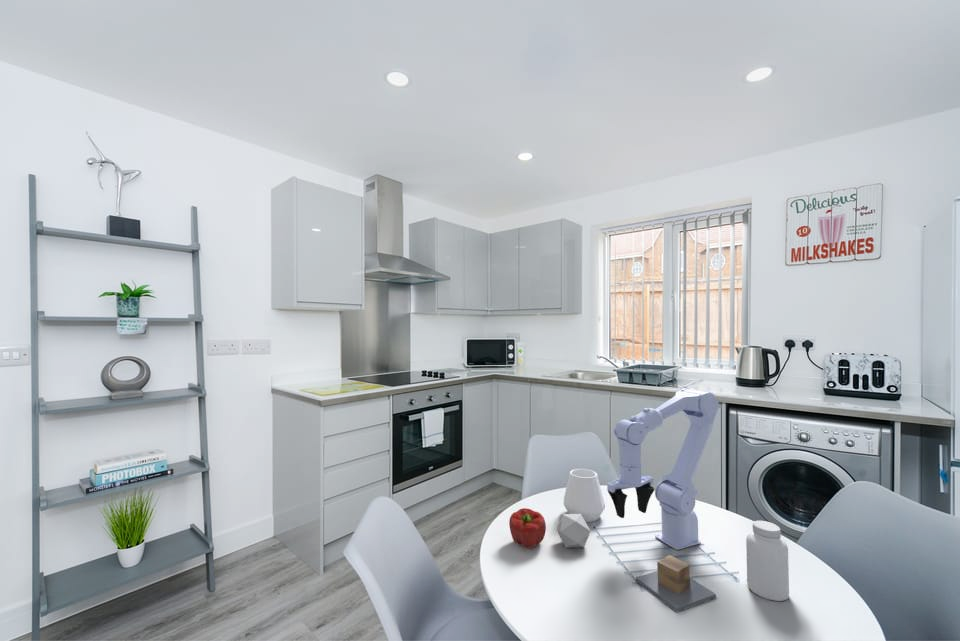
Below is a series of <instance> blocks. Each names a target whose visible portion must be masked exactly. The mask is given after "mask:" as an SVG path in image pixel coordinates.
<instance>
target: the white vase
mask: <svg viewBox="0 0 960 641" xmlns="http://www.w3.org/2000/svg"><path fill="white" fill-rule="evenodd" d="M563 506H564V508H565V509H566V511H567V512H568V513H567V514H581V515H582V517H583V519H584V520H585V522H586V523H593V522H595V521H596V522H597V520H599V518H600V517H601V515H602V514H603V513H604V510H605V509H606V502H605V499H604V496H603V492H602V489H601V484H600V481H599V476H598V472H596V471H593V470H592V469H587V468H574V469H572V470H570V471H569V474H568V479H567V484H566V487H565V493H564V495H563Z"/></svg>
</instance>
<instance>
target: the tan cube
mask: <svg viewBox="0 0 960 641" xmlns="http://www.w3.org/2000/svg"><path fill="white" fill-rule="evenodd" d="M690 567H691V566H690V564H689V563H686V562H684V561H682V560H681V559H678V558H676V557H675V556H672V555H670V554H669V555H666V556H665V557H663V558H662V559H660V560H658V561H657V571H658V584H660V585H662V586H664V587H666V588H667V589H669V590H671V591H673V592H675V593H676V594H680V593H681V592H683V591H684V590H686V589H687V588H689V587H690V577H691V570H690Z"/></svg>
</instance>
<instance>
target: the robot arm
mask: <svg viewBox="0 0 960 641" xmlns="http://www.w3.org/2000/svg"><path fill="white" fill-rule="evenodd" d="M719 408H720V404H719V401H718V399H717V396H716V395H715V394H714V393H713V392H709V391H701V390H694V389H689V388H682V389H680V390H679V391H676V392H675V394H674V395H673V397H671V398H669V399H668V400H666V401H665V402H664V403H662V404H661V405H659V406H658V407H656V408H653V407H645V408H643V409H642V411H641V412H639V413H638V414H636V415H631V416H629V417H630V418H629V419H621V420H620V421H618V422H617V423H616V425H615V427H614V428H615V429H613V433H614V435H615V437H616V439H617V444H618V455H619V456H618V460H619V464H618V465H619V476H618V478H617V479H615V480H613V481H611V482H606V485H607V486H606V487H607V489H606V490H607V492H608V494H609V496H610V498H611V500H612V502H613V505H614V508H615V512H616V516H617V517H619V518H620V519H625V514H626V513H625V511H626V510H625V508H626V507H625V506H626V500H627V498H628V495H627V494H626V493H624V492H623V491H622V490H627V489H632V488H635V492H636V497H637V498H636V500H637V509H638V511H639V512H641V513H643V514H646V513H647V510H648V509H647V508H648V504H649V501H650V499H651V496H653V493H654V496H655V499H656V500H657V501H658V503H659V506H660V507H661V508H660V510H661V514H660V515H661V533H659V534H655V535H654V538H656V539H658V540H659V541H661V542H663V543H664V544H666V545H667V546H669V547H672V548H673V549H675V550H679V551H680V550H682V549H686V548H688V547H689V548H690V547H693V546H695V545H699V544H701V543H702V541H701V540H699V520H698V515H697V514H696V512H695V511H694V509H695V507H696V498H697V494H698V490H697V489H696V487H695V485H694V483H693V478H694V477H695V474H696V471H697V469H698V466H699V464H700V460H701V458H702V456H703V453H704V451H705V447H706V445H707V442H708V440H709V437H710V435H711V432H712V429H713V427H714V421H715V418H716V416H717V413H718V411H719ZM680 412H683V414H684V415H685V416H686V418H687V419H689V422H690V425H689V428H688V431H687V433H686V435H685V438H684V440H683V443H682V445H681V448H680V450H679V453H678V455H677V459H676V461H675V463H674V465H673V466H674V467H673V468H672V471H671V472H669V473H665V474H664V475H663V476H662V478H661V480H660V482H658V483H657V484H656V486H655V488H654V487H653V485H654V477H652V476H649V475H642V450H641V449H642V444H641V443H644V441H645V439H646V436H648V434H649V433H651V432H653V431H655V430H656V429H658V428H660V427H662V425H663V421H664V420H665V419H667V418H669V417H671V416H673V415H674V416H675V414H678V413H680ZM678 486H679V487H678Z"/></svg>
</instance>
